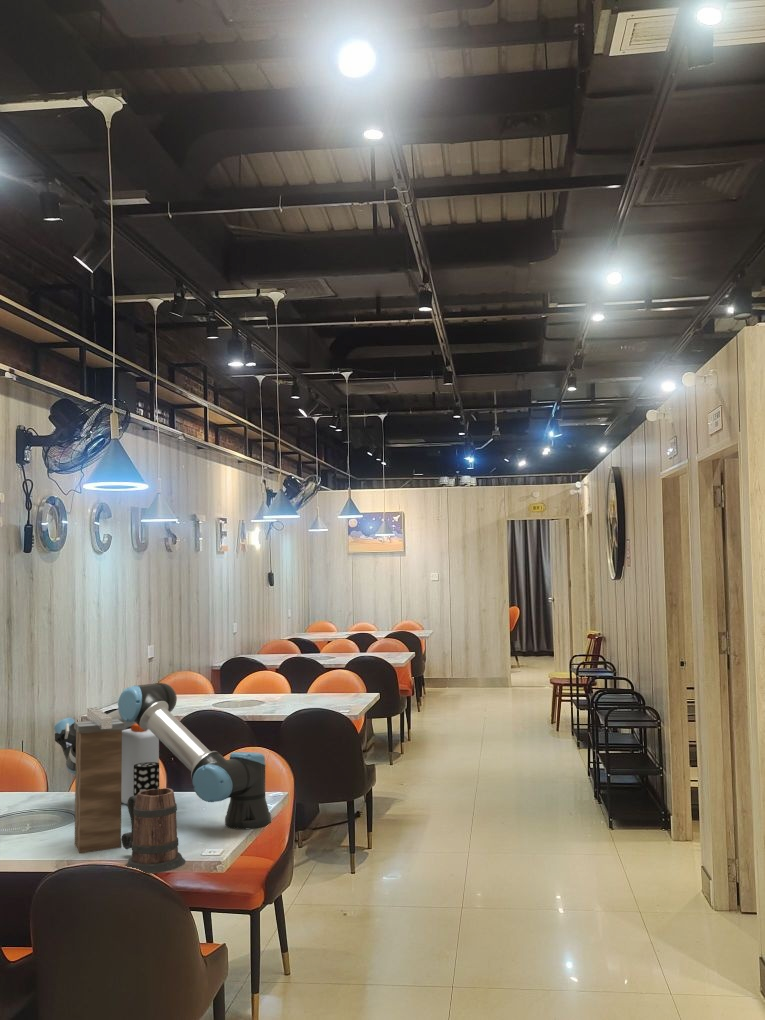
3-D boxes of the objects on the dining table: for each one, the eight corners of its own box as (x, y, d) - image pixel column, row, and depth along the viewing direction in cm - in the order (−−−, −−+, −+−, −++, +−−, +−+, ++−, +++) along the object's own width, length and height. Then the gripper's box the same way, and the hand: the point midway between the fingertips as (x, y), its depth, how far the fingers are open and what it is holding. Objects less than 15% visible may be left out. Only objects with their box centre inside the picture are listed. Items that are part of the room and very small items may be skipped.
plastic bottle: (163, 798, 323) (168, 724, 323) (128, 807, 311) (133, 730, 312) (139, 788, 333) (144, 716, 333) (105, 796, 321) (110, 722, 321)
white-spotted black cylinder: (151, 821, 289) (151, 761, 291) (163, 825, 283) (164, 764, 285) (128, 826, 283) (129, 765, 285) (141, 831, 277) (141, 768, 279)
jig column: (72, 843, 265) (74, 721, 269) (115, 837, 270) (116, 718, 274) (77, 853, 253) (79, 726, 257) (122, 847, 259) (123, 723, 263)
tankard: (197, 862, 242) (197, 789, 244) (147, 877, 229) (147, 801, 231) (148, 848, 257) (149, 780, 259) (98, 862, 244) (99, 790, 246)
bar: (87, 717, 279) (87, 708, 280) (96, 716, 281) (96, 707, 281) (101, 729, 251) (101, 718, 251) (112, 728, 252) (112, 718, 252)
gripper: (118, 756, 304) (128, 733, 288) (44, 763, 293) (49, 739, 277) (117, 736, 308) (127, 712, 292) (43, 742, 297) (49, 717, 281)
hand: (89, 725), depth 285 cm, fingers open, 13 cm apart
